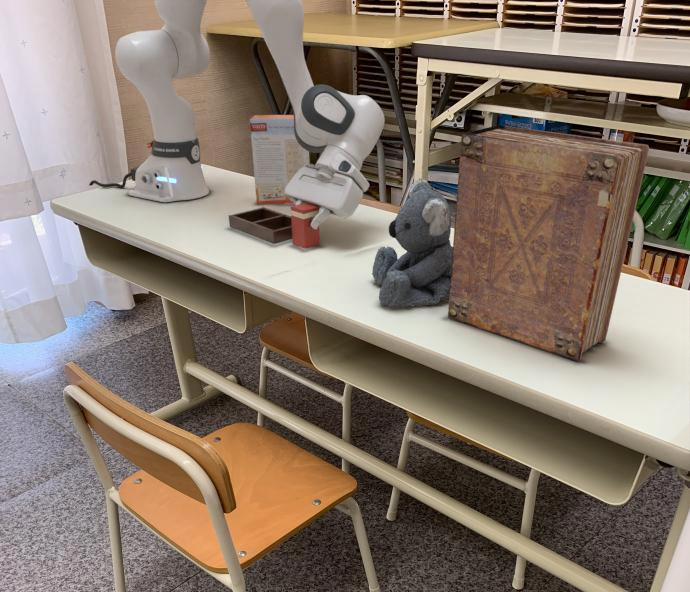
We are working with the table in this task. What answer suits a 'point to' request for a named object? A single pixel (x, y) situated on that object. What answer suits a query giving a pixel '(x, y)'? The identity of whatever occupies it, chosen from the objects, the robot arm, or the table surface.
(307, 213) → the carton
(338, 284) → the table surface
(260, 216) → the organiser
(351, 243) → the table surface
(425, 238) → the koala plush
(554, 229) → the book
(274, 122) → the cracker box
